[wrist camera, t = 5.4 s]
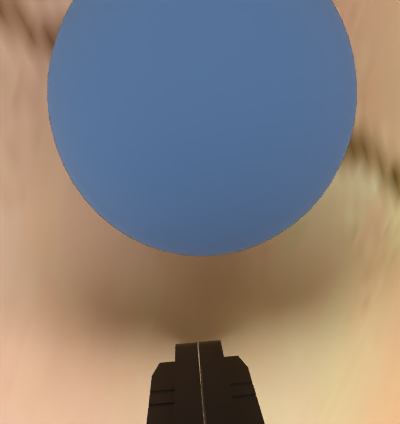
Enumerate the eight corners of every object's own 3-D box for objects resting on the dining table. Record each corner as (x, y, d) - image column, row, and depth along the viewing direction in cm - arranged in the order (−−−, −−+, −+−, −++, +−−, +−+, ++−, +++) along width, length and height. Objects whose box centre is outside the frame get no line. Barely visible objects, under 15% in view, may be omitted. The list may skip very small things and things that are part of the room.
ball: (-30, 313, 4) (98, 231, 9) (438, 300, 4) (280, 230, 10) (-68, -268, 3) (94, 34, 9) (482, -195, 3) (288, 44, 9)
